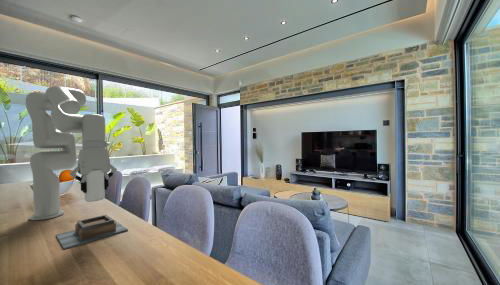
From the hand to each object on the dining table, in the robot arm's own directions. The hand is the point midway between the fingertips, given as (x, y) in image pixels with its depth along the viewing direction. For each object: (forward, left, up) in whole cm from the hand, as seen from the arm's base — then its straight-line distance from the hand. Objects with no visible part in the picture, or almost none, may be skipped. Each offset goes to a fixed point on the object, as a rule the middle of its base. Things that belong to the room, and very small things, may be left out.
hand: (95, 190), depth 87 cm
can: (0, 0, -4) cm, 4 cm away
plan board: (0, 0, -17) cm, 17 cm away
